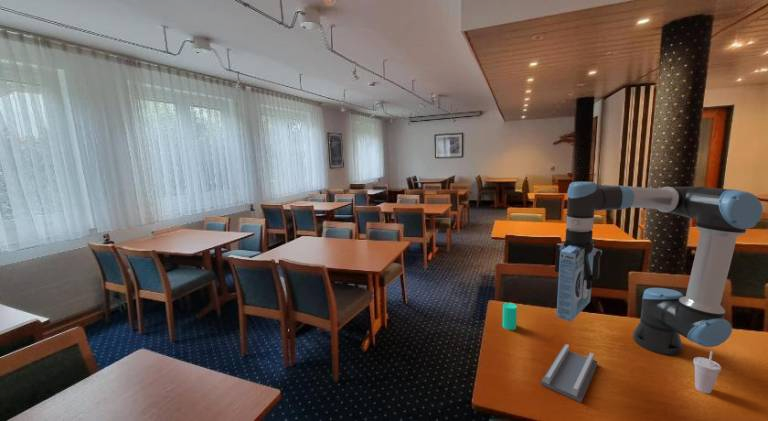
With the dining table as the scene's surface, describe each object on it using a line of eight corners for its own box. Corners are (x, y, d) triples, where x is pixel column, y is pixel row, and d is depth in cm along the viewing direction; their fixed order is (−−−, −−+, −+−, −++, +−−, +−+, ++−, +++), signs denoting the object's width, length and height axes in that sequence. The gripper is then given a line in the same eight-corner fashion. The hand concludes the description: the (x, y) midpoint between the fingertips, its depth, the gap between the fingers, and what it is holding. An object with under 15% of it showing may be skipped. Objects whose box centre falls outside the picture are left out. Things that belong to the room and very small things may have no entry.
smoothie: (720, 399, 99) (727, 359, 97) (692, 392, 103) (698, 353, 100) (713, 386, 105) (719, 348, 102) (687, 379, 108) (692, 343, 105)
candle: (517, 330, 141) (518, 305, 139) (503, 329, 142) (504, 305, 140) (514, 323, 147) (515, 299, 145) (501, 322, 148) (502, 299, 146)
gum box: (571, 322, 100) (576, 254, 96) (554, 316, 104) (558, 250, 100) (590, 301, 113) (596, 240, 109) (575, 297, 117) (579, 237, 113)
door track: (597, 364, 117) (598, 355, 116) (581, 402, 100) (582, 391, 100) (561, 351, 125) (562, 342, 125) (541, 384, 108) (541, 374, 108)
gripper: (545, 227, 107) (542, 291, 111) (610, 235, 95) (604, 307, 99) (552, 223, 112) (549, 284, 117) (615, 230, 100) (609, 298, 104)
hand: (574, 294), depth 108 cm, fingers closed on gum box, 5 cm apart
